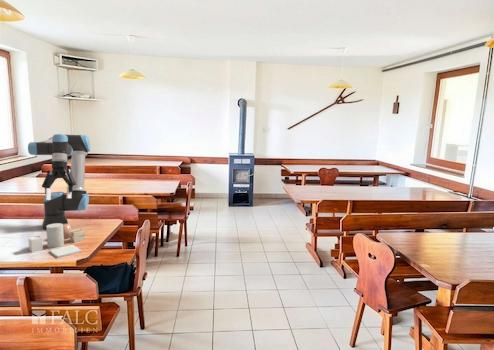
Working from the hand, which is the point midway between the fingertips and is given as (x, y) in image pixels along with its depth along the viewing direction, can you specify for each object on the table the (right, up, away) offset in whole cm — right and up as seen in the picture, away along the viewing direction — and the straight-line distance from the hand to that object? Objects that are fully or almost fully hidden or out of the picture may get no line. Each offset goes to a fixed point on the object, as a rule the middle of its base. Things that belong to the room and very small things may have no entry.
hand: (58, 199), depth 177 cm
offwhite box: (-12, -28, -1) cm, 31 cm away
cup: (-5, -27, +7) cm, 29 cm away
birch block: (+2, -26, +16) cm, 31 cm away
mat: (+5, -29, -2) cm, 29 cm away
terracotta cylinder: (-7, -25, +20) cm, 33 cm away
